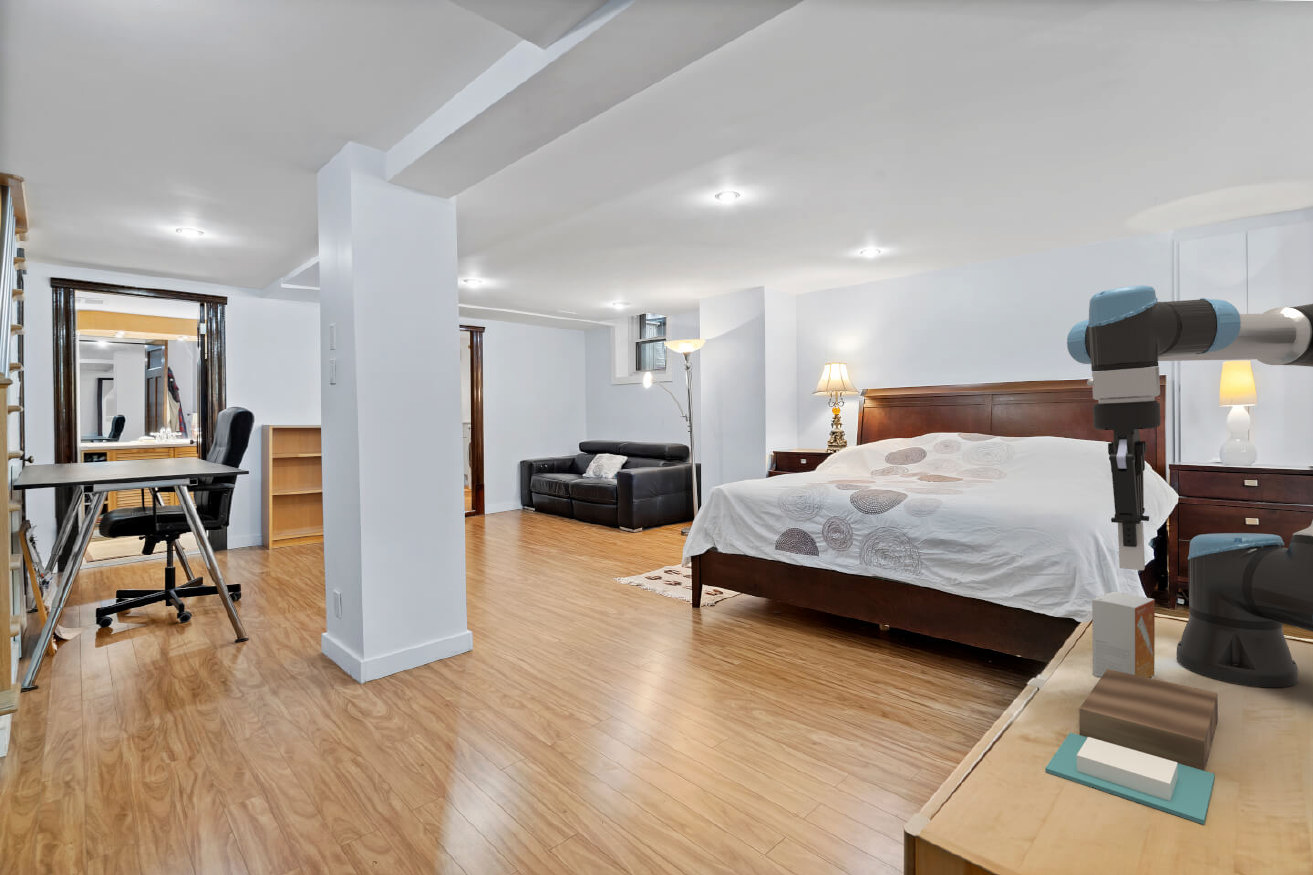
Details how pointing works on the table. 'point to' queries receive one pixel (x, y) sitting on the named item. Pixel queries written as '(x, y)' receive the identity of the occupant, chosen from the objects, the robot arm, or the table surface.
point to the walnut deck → (1151, 717)
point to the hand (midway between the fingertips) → (1132, 567)
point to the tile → (1128, 768)
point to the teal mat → (1184, 803)
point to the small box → (1123, 634)
